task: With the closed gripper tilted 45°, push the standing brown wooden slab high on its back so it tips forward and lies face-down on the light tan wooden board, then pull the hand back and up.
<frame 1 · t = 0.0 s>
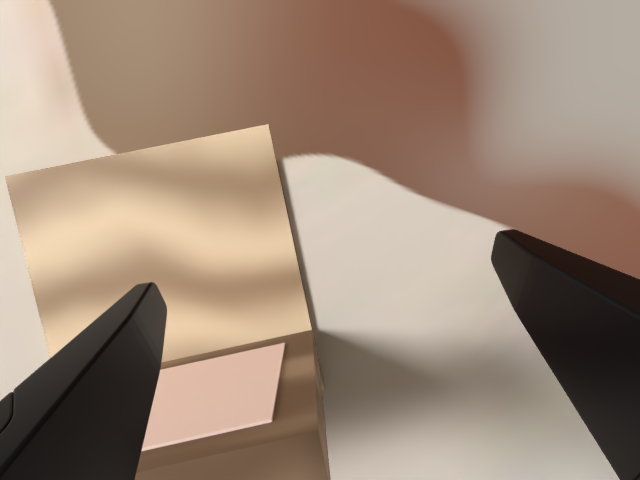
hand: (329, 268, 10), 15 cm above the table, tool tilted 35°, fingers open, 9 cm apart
brown wooden slab: (204, 371, 24), resting on light tan wooden board
light tan wooden board: (171, 285, 24), on the table
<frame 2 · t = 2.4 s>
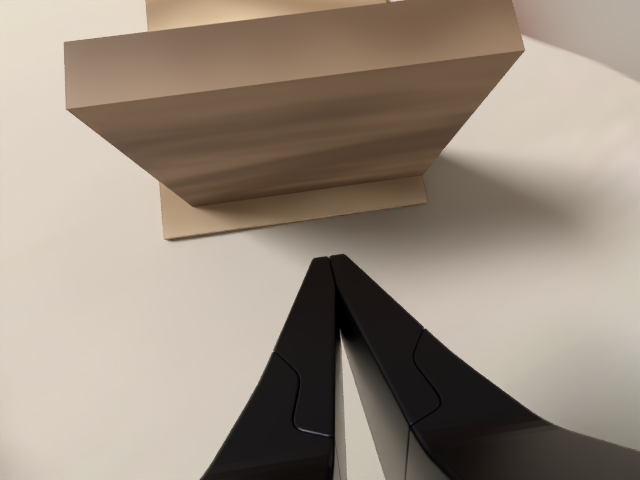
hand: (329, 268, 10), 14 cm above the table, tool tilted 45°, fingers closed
brown wooden slab: (306, 173, 24), resting on light tan wooden board
light tan wooden board: (279, 95, 25), on the table
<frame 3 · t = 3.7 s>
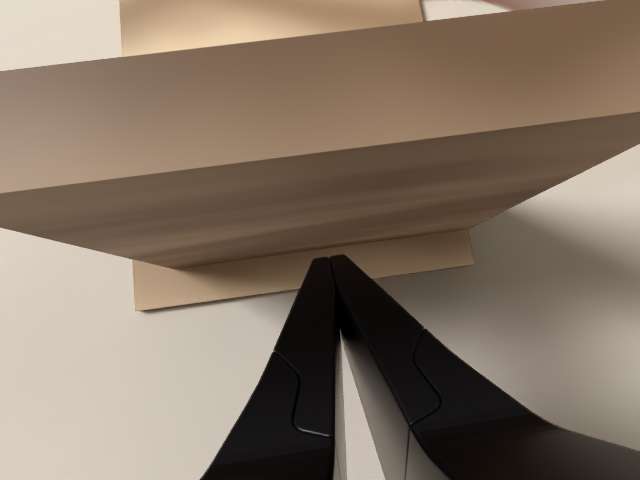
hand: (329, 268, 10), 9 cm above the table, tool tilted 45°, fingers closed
brown wooden slab: (319, 225, 19), resting on light tan wooden board
light tan wooden board: (286, 124, 20), on the table
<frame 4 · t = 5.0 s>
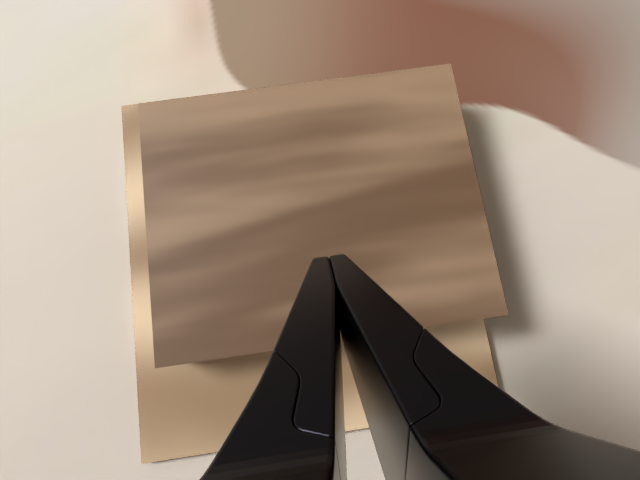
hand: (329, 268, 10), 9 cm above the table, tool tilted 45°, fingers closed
brown wooden slab: (333, 338, 16), point 2 cm above the table, tilted 90°, touching light tan wooden board
light tan wooden board: (299, 247, 19), on the table
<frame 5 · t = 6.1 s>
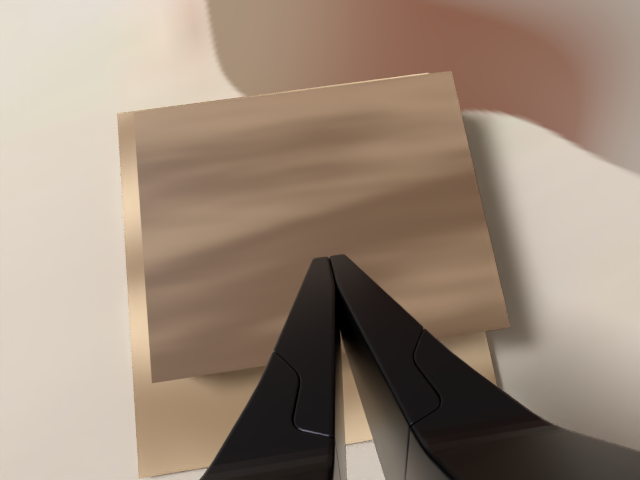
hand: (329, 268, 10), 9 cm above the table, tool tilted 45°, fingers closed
brown wooden slab: (333, 351, 16), point 2 cm above the table, tilted 90°, touching light tan wooden board
light tan wooden board: (298, 256, 19), on the table
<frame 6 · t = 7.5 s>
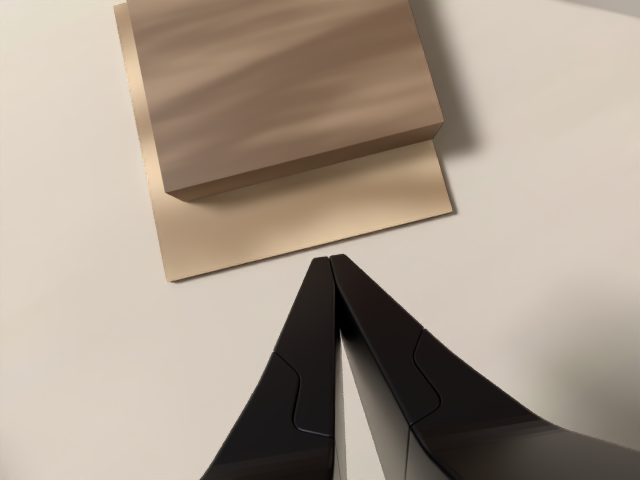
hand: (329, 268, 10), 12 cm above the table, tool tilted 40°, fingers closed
brown wooden slab: (305, 164, 20), point 2 cm above the table, tilted 90°, touching light tan wooden board
light tan wooden board: (274, 105, 22), on the table
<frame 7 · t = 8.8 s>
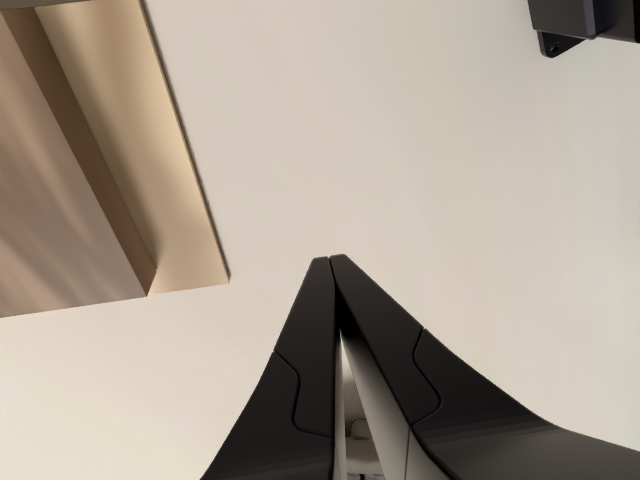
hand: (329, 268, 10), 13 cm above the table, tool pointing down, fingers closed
brown wooden slab: (100, 177, 19), point 2 cm above the table, tilted 90°, touching light tan wooden board
piggy bank: (351, 435, 41), on the table
light tan wooden board: (37, 191, 21), on the table
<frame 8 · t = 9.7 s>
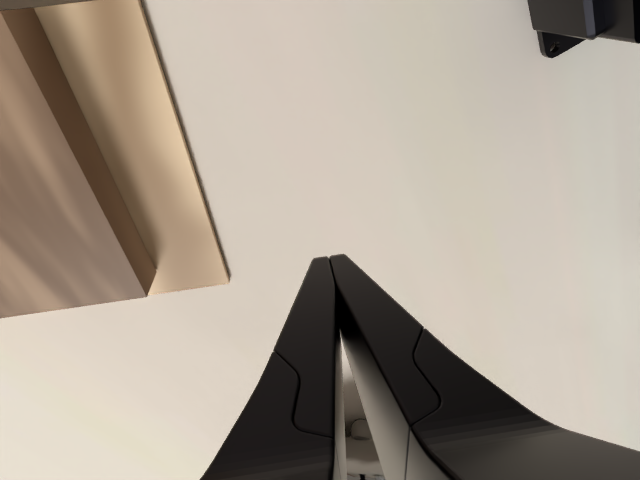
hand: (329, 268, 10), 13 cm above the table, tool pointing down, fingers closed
brown wooden slab: (100, 177, 19), point 2 cm above the table, tilted 90°, touching light tan wooden board
piggy bank: (351, 435, 41), on the table
light tan wooden board: (37, 191, 21), on the table
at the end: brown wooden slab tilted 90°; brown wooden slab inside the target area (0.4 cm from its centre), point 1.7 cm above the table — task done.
